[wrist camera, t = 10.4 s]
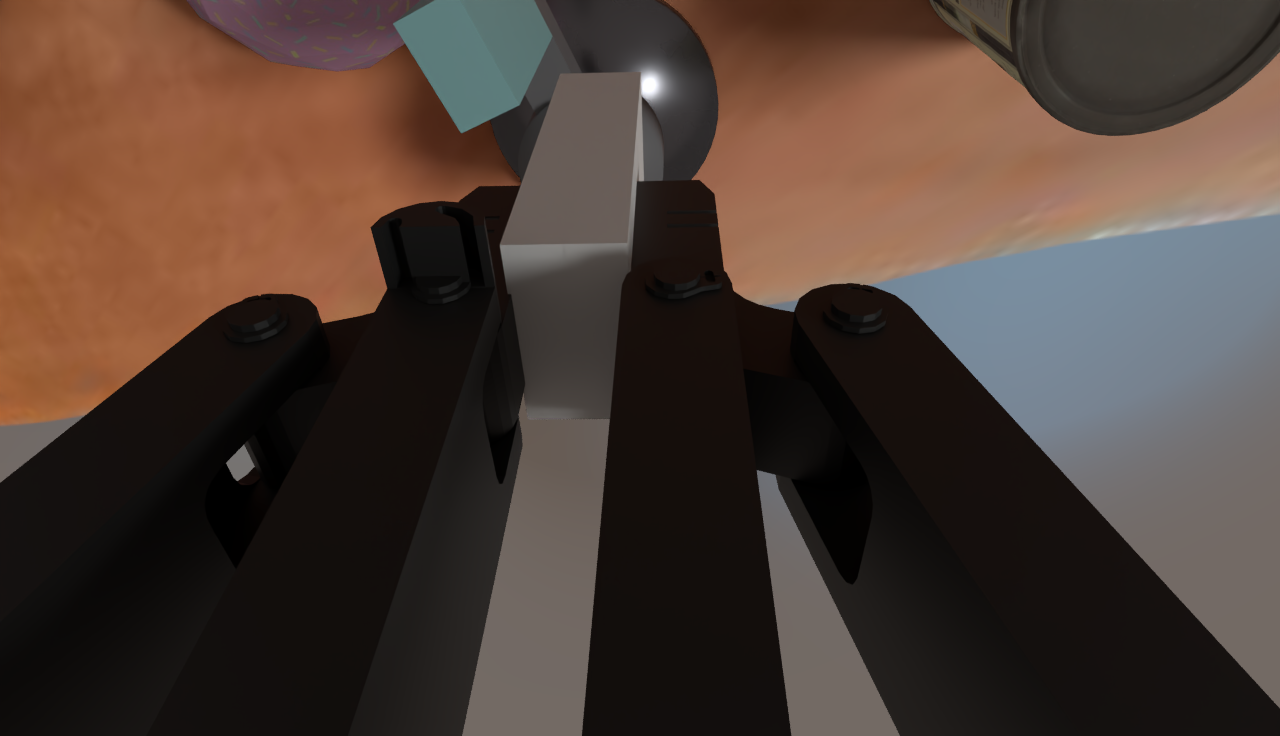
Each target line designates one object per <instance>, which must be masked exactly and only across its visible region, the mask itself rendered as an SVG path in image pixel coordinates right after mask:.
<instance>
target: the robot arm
mask: <svg viewBox="0 0 1280 736" xmlns="http://www.w3.org/2000/svg"><path fill="white" fill-rule="evenodd" d="M371 231H372V234H373V238H374V241H375V245H376V249H377V252H378V256H379V260H380V263H381V267H382V271H383V274H384V278H385V281H386V285H387V291H386V292H385V294H384V296H383V298H382V300H381V302H380V303H379V305H378V307H377V309H376V311H375V312H374V313H370V314H366V315H362V316H358V317H353V318H348V319H343V320H338V321H332V322H327V323H322V321H321V319H320V316H319V313H318V310H317V307H316V306H315V305H314V304H313V303H312V302H311V301H310V300H309V299H307V298H304V297H300V296H297V295H293V294H263V295H261V296H258V295H257V296H252V297H248V298H245V299H244V300H243V301H240V302H238V303H235V304H232V305H230V306H227V307H226V308H224V309H222V310H221V311H219V312H217V313H216V314H214V315H212V316H211V317H209V318H208V319H207V320H205V321H204V322H203V323H202V324H200V325H199V326H198V327H197V328H195V329H194V330H193V331H192V332H190V333H189V334H188V335H186V336H185V337H184V338H183V339H181V340H180V341H179V342H178V343H176V344H175V345H174V346H173V347H171V348H170V349H169V350H168V351H166V352H165V353H164V354H162V355H161V356H160V357H159V358H157V359H156V360H155V361H154V362H152V363H151V364H150V365H149V366H147V367H146V368H145V369H144V370H142V371H141V372H140V373H138V374H137V375H136V376H135V377H133V378H132V379H131V380H130V381H128V382H127V383H126V384H125V385H123V386H122V387H121V388H120V389H118V390H117V391H116V392H114V393H113V394H112V395H111V396H109V397H108V398H107V399H106V400H104V401H103V402H102V403H101V404H99V405H98V406H97V407H95V408H94V409H93V410H92V411H90V412H89V413H88V414H87V415H85V416H84V417H83V418H82V419H81V420H79V421H78V422H77V423H76V424H74V425H73V426H72V427H70V428H69V429H68V430H66V431H65V432H64V433H63V434H61V435H60V436H59V437H58V438H56V439H55V440H54V441H53V442H51V443H50V444H49V445H48V446H46V447H45V448H44V449H42V450H41V451H40V452H39V453H37V454H36V455H35V456H34V457H32V458H31V459H30V460H29V461H27V462H26V463H25V464H24V465H23V466H21V467H20V468H19V469H17V470H16V471H15V472H13V473H12V474H11V475H10V476H8V477H7V478H6V479H5V480H3V481H2V482H1V483H0V736H462V733H463V729H464V724H465V719H466V714H467V709H468V705H469V699H470V695H471V690H472V685H473V680H474V676H475V671H476V666H477V661H478V656H479V652H480V647H481V642H482V637H483V633H484V627H485V623H486V618H487V613H488V609H489V604H490V599H491V594H492V589H493V585H494V580H495V575H496V570H497V565H498V561H499V556H500V551H501V546H502V541H503V536H504V532H505V527H506V522H507V517H508V513H509V508H510V503H511V498H512V493H513V488H514V484H515V479H516V474H517V469H518V465H519V459H520V455H521V450H522V433H521V428H520V422H519V416H518V414H519V409H520V405H521V401H522V396H523V392H524V398H525V404H526V410H527V417H528V419H610V425H609V435H608V447H607V458H606V469H605V481H604V492H603V503H602V514H601V526H600V537H599V548H598V560H597V571H596V583H595V594H594V605H593V617H592V628H591V639H590V651H589V662H588V673H587V684H586V697H585V707H584V719H583V730H582V736H791V729H790V723H789V714H788V706H787V699H786V691H785V683H784V676H783V668H782V661H781V654H780V645H779V638H778V631H777V622H776V615H775V607H774V600H773V592H772V585H771V578H770V569H769V562H768V554H767V547H766V539H765V532H764V523H763V516H762V508H761V501H760V493H759V485H758V478H757V470H759V471H763V472H767V473H771V474H775V475H776V479H777V483H778V488H779V491H780V492H781V495H782V496H783V499H784V500H785V503H786V505H787V507H788V509H789V511H790V513H791V515H792V517H793V519H794V521H795V523H796V525H797V527H798V529H799V531H800V533H801V535H802V537H803V539H804V541H805V543H806V545H807V547H808V549H809V551H810V554H811V556H812V558H813V560H814V561H815V564H816V566H817V568H818V570H819V572H820V574H821V576H822V578H823V580H824V582H825V584H826V586H827V588H828V590H829V592H830V594H831V596H832V598H833V600H834V602H835V604H836V606H837V608H838V610H839V612H840V614H841V617H842V618H843V620H844V623H845V625H846V627H847V629H848V631H849V633H850V635H851V637H852V639H853V641H854V643H855V645H856V647H857V649H858V651H859V653H860V655H861V657H862V659H863V661H864V663H865V665H866V667H867V669H868V671H869V673H870V675H871V678H872V680H873V682H874V684H875V685H876V688H877V690H878V692H879V694H880V696H881V698H882V700H883V702H884V704H885V706H886V708H887V710H888V712H889V714H890V716H891V718H892V720H893V722H894V724H895V726H896V728H897V730H898V732H899V734H900V736H1280V708H1279V707H1278V706H1277V705H1276V704H1275V703H1274V702H1273V701H1272V700H1271V698H1270V697H1269V696H1268V695H1267V694H1266V693H1265V692H1264V691H1263V690H1262V689H1261V688H1260V686H1259V685H1258V684H1257V683H1256V682H1255V681H1254V680H1253V679H1252V678H1251V677H1250V676H1249V675H1248V673H1247V672H1246V671H1245V670H1244V669H1243V668H1242V667H1241V666H1240V665H1239V664H1238V663H1237V661H1236V660H1235V659H1234V658H1233V657H1232V656H1231V655H1230V654H1229V653H1228V652H1227V651H1226V650H1225V648H1224V647H1223V646H1222V645H1221V644H1220V643H1219V642H1218V641H1217V640H1216V639H1215V638H1214V636H1213V635H1212V634H1211V633H1210V632H1209V631H1208V630H1207V629H1206V628H1205V627H1204V626H1203V625H1202V623H1201V622H1200V621H1199V620H1198V619H1197V618H1196V617H1195V616H1194V615H1193V614H1192V613H1191V611H1190V610H1189V609H1188V608H1187V607H1186V606H1185V605H1184V604H1183V603H1182V602H1181V601H1180V600H1179V598H1178V597H1177V596H1176V595H1175V594H1174V593H1173V592H1172V591H1171V590H1170V589H1169V588H1168V587H1167V585H1166V584H1165V583H1164V582H1163V581H1162V580H1161V579H1160V578H1159V577H1158V576H1157V575H1156V573H1155V572H1154V571H1153V570H1152V569H1151V568H1150V567H1149V566H1148V565H1147V564H1146V563H1145V562H1144V560H1143V559H1142V558H1141V557H1140V556H1139V555H1138V554H1137V553H1136V552H1135V551H1134V550H1133V549H1132V547H1131V546H1130V545H1129V544H1128V543H1127V542H1126V541H1125V540H1124V539H1123V538H1122V536H1121V535H1120V534H1119V533H1118V532H1117V531H1116V530H1115V529H1114V528H1113V527H1112V526H1111V525H1110V523H1109V522H1108V521H1107V520H1106V519H1105V518H1104V517H1103V516H1102V515H1101V514H1100V513H1099V512H1098V510H1097V509H1096V508H1095V507H1094V506H1093V505H1092V504H1091V503H1090V502H1089V501H1088V500H1087V499H1086V497H1085V496H1084V495H1083V494H1082V493H1081V492H1080V491H1079V490H1078V489H1077V488H1076V487H1075V486H1074V484H1073V483H1072V482H1071V481H1070V480H1069V479H1068V478H1067V477H1066V476H1065V475H1064V473H1063V472H1061V470H1060V469H1059V468H1058V467H1057V466H1056V465H1055V464H1054V463H1053V462H1052V461H1051V459H1050V458H1049V457H1048V456H1047V455H1046V454H1045V453H1044V452H1043V451H1042V450H1041V448H1040V447H1039V446H1038V445H1037V444H1036V443H1035V442H1034V441H1033V440H1032V439H1031V438H1030V436H1029V435H1028V434H1027V433H1026V432H1025V431H1024V430H1023V429H1022V428H1021V427H1020V426H1019V425H1018V424H1017V422H1015V420H1014V419H1013V418H1012V417H1011V416H1010V415H1009V414H1008V413H1007V412H1006V410H1005V409H1004V408H1003V407H1002V406H1001V405H1000V404H999V403H998V402H997V401H996V400H995V398H994V397H993V396H992V395H991V394H990V393H989V392H988V391H987V390H986V389H985V388H984V386H983V385H982V384H981V383H980V382H979V381H978V380H977V379H976V378H975V377H974V376H973V375H972V373H971V372H970V371H969V370H968V369H967V368H966V367H965V366H964V365H963V364H962V363H961V361H959V360H958V358H957V357H956V356H955V355H954V354H953V353H952V352H951V351H950V350H949V348H947V346H946V345H945V344H944V343H943V342H942V341H941V340H940V339H939V338H938V337H937V335H936V334H935V333H934V332H933V331H932V330H931V329H930V328H929V327H928V326H927V325H926V323H925V322H924V321H923V320H922V319H921V318H920V317H919V316H918V315H917V314H916V313H915V312H914V310H913V309H912V308H911V307H910V306H908V305H907V304H906V303H904V302H903V301H902V300H901V299H899V298H898V297H897V296H895V295H893V294H891V293H888V292H885V291H883V290H880V289H878V288H875V287H872V286H868V285H860V284H854V283H847V284H830V285H827V286H823V287H819V288H816V289H812V290H811V291H809V292H808V293H806V294H805V295H804V296H802V297H801V298H799V301H798V303H797V306H796V308H795V311H794V312H790V311H785V310H779V309H774V308H770V307H766V306H762V305H758V304H756V303H754V302H751V301H749V300H747V299H745V298H743V297H742V296H740V295H739V294H737V293H736V292H734V291H733V287H732V283H731V281H730V279H729V277H728V275H727V273H726V272H725V271H724V267H723V259H722V251H721V243H720V235H719V227H718V219H717V213H716V203H715V195H714V193H713V192H712V191H711V190H710V189H709V188H707V187H706V186H705V185H704V184H703V183H702V182H701V181H700V180H676V181H644V165H643V130H642V94H641V72H612V73H569V74H560V76H559V79H558V82H557V84H556V87H555V90H554V93H553V96H552V99H551V101H550V104H549V107H548V110H547V113H546V116H545V118H544V121H543V124H542V127H541V130H540V133H539V135H538V138H537V141H536V144H535V147H534V150H533V152H532V155H531V158H530V161H529V164H528V167H527V169H526V172H525V175H524V178H523V181H522V183H521V186H479V187H478V188H476V189H475V190H474V191H472V192H471V193H470V194H468V195H467V196H465V197H464V198H463V199H461V200H460V201H459V202H445V201H437V202H428V203H419V204H415V205H411V206H407V207H404V208H400V209H397V210H395V211H393V212H391V213H389V214H387V215H385V216H383V217H381V218H380V219H379V220H378V221H377V222H376V223H375V224H374V225H373V226H372V227H371ZM243 445H245V447H246V449H247V451H248V453H249V455H250V457H251V459H252V461H253V463H254V466H255V467H254V468H253V469H252V470H251V471H250V472H249V473H248V474H247V475H246V476H245V477H243V478H242V479H240V480H239V481H236V480H235V479H234V478H233V476H232V474H231V472H230V470H229V468H228V466H227V464H226V462H227V461H228V460H229V459H230V458H231V457H232V456H233V455H234V454H235V453H236V452H237V451H238V450H239V449H240V448H241V447H242V446H243Z"/></svg>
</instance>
